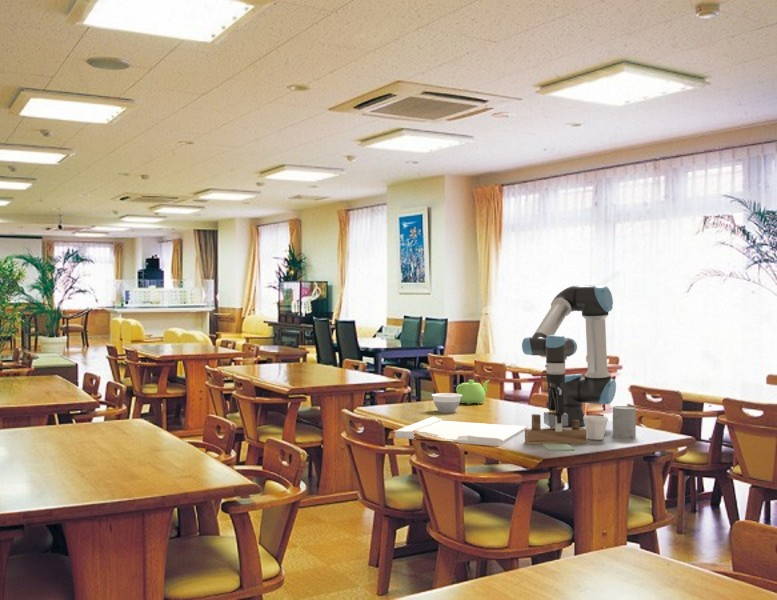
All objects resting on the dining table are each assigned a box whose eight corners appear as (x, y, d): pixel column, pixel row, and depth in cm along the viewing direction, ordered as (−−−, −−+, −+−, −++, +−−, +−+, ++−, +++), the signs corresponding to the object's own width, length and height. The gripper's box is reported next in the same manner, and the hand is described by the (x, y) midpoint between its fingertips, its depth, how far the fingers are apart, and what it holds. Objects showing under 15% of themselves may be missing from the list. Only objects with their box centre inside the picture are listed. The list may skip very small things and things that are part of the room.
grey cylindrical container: (637, 438, 332) (637, 409, 332) (613, 438, 334) (613, 408, 334) (634, 435, 342) (634, 406, 341) (611, 434, 343) (611, 405, 343)
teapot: (483, 400, 455) (483, 377, 455) (497, 403, 442) (497, 380, 442) (449, 402, 446) (449, 379, 446) (462, 406, 433) (462, 381, 433)
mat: (542, 445, 316) (542, 444, 316) (567, 445, 317) (567, 443, 317) (549, 450, 306) (549, 449, 306) (574, 450, 307) (574, 448, 307)
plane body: (524, 442, 324) (524, 413, 324) (582, 441, 326) (582, 413, 326) (527, 444, 319) (527, 415, 319) (586, 443, 321) (586, 415, 321)
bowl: (468, 411, 411) (468, 395, 411) (446, 414, 401) (446, 397, 401) (447, 408, 423) (447, 392, 423) (425, 411, 413) (425, 394, 413)
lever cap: (543, 423, 326) (543, 409, 326) (563, 422, 327) (562, 408, 327) (548, 426, 319) (548, 411, 319) (568, 425, 320) (568, 411, 320)
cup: (607, 442, 325) (607, 419, 325) (582, 440, 328) (582, 418, 328) (608, 437, 334) (608, 415, 334) (584, 436, 337) (584, 414, 337)
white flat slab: (527, 430, 357) (527, 422, 357) (499, 447, 315) (499, 438, 315) (433, 423, 375) (433, 416, 375) (395, 439, 334) (395, 430, 334)
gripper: (539, 370, 332) (540, 425, 333) (553, 376, 312) (553, 434, 313) (557, 370, 333) (557, 425, 333) (572, 375, 313) (572, 433, 313)
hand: (555, 429), depth 323 cm, fingers closed on lever cap, 7 cm apart
